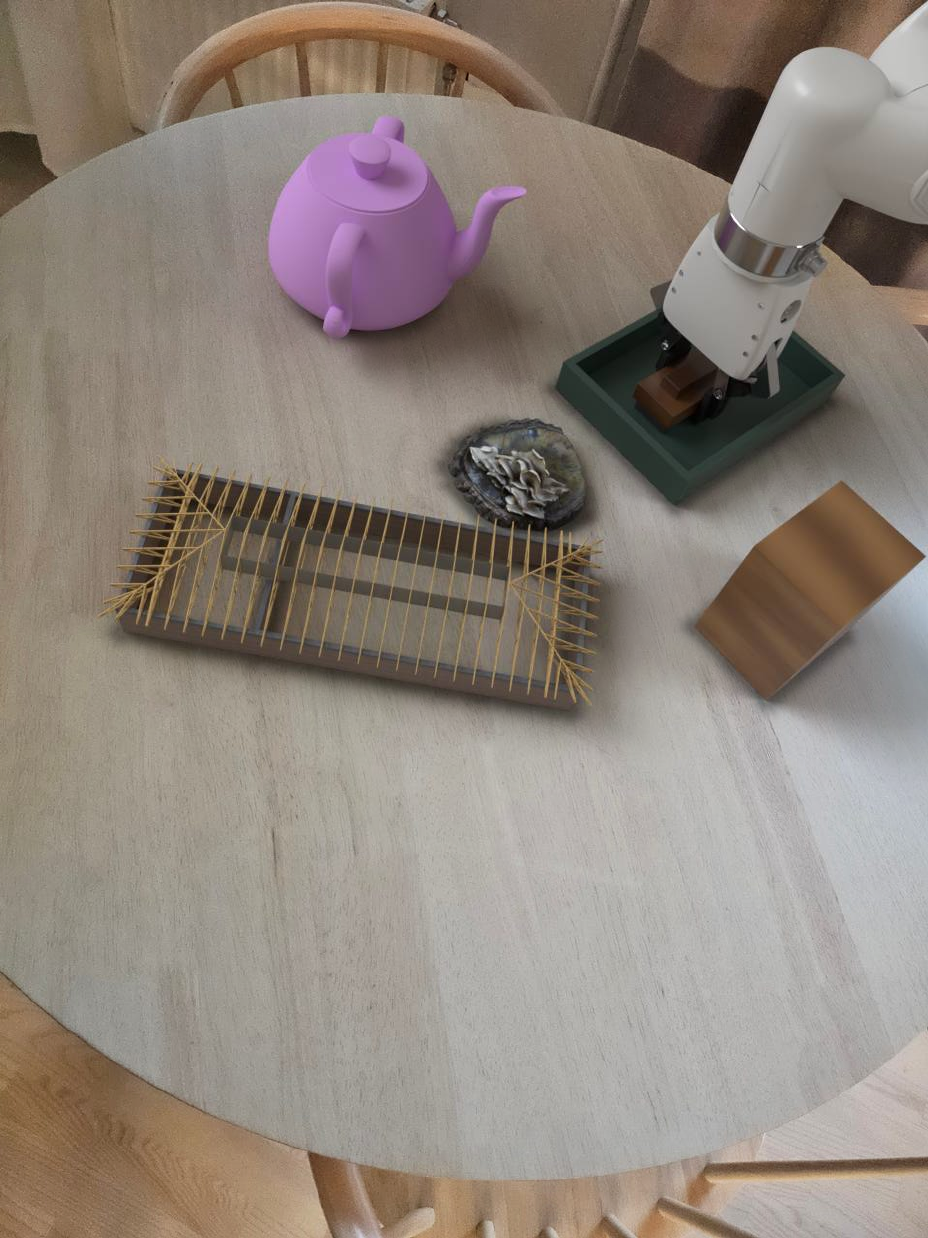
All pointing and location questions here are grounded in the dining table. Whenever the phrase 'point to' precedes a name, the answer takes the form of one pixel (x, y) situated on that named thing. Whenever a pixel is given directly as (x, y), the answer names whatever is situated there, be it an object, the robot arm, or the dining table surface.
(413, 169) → the teapot
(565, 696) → the rafter model
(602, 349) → the tray
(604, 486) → the dining table surface
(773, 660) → the stand
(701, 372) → the brush
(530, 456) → the log
